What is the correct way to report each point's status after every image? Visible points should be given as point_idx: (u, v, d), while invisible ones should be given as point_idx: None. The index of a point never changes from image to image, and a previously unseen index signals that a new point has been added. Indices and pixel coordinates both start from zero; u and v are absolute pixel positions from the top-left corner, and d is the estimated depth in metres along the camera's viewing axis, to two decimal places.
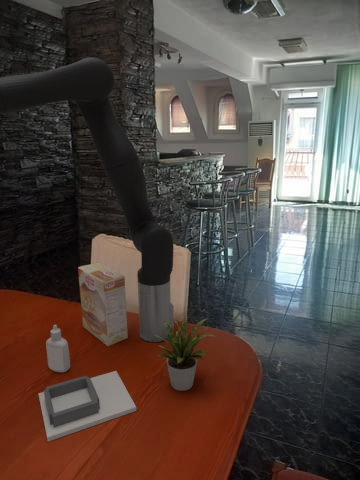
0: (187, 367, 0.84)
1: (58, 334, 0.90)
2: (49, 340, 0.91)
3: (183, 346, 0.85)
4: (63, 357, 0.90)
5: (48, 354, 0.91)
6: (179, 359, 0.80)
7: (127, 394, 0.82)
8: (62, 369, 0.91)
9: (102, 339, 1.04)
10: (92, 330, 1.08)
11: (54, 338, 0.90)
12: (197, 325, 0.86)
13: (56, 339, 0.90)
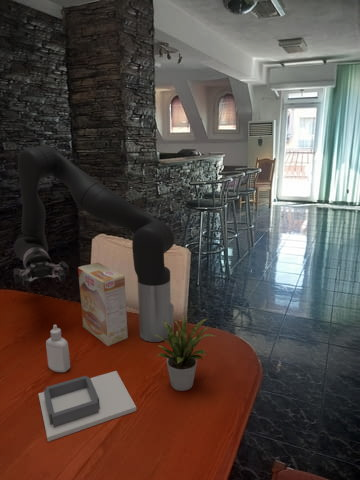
0: (187, 367, 0.84)
1: (58, 334, 0.90)
2: (49, 340, 0.91)
3: (183, 346, 0.85)
4: (63, 357, 0.90)
5: (48, 354, 0.91)
6: (179, 359, 0.80)
7: (127, 394, 0.82)
8: (62, 369, 0.91)
9: (102, 339, 1.04)
10: (92, 330, 1.08)
11: (54, 338, 0.90)
12: (197, 325, 0.86)
13: (56, 339, 0.90)
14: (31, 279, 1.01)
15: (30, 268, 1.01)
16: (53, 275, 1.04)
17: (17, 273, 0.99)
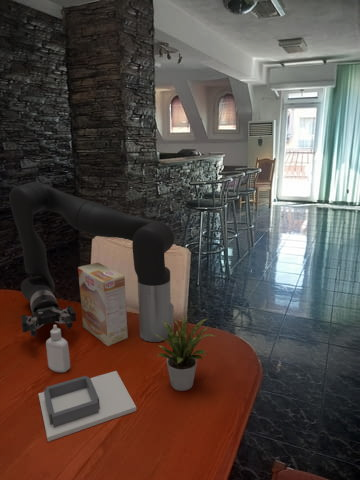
0: (187, 367, 0.84)
1: (58, 334, 0.90)
2: (49, 340, 0.91)
3: (183, 346, 0.85)
4: (63, 357, 0.90)
5: (48, 354, 0.91)
6: (179, 359, 0.80)
7: (127, 394, 0.82)
8: (62, 369, 0.91)
9: (102, 339, 1.04)
10: (92, 330, 1.08)
11: (54, 338, 0.90)
12: (197, 325, 0.86)
13: (56, 339, 0.90)
14: (38, 326, 1.02)
15: (37, 316, 1.02)
16: (60, 321, 1.04)
17: (25, 322, 0.99)
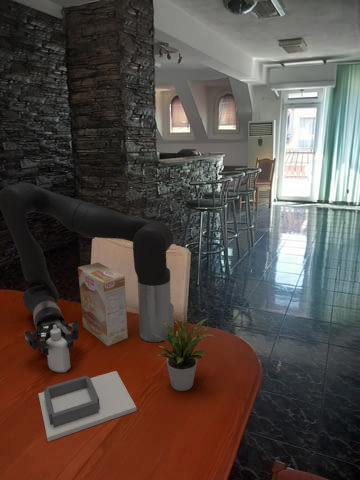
0: (187, 367, 0.84)
1: (58, 334, 0.90)
2: (49, 340, 0.91)
3: (183, 346, 0.85)
4: (63, 357, 0.90)
5: None
6: (179, 359, 0.80)
7: (127, 394, 0.82)
8: (62, 369, 0.91)
9: (102, 339, 1.04)
10: (92, 330, 1.08)
11: (54, 338, 0.89)
12: (197, 325, 0.86)
13: (56, 339, 0.90)
14: None
15: (45, 331, 0.94)
16: None
17: (34, 338, 0.91)
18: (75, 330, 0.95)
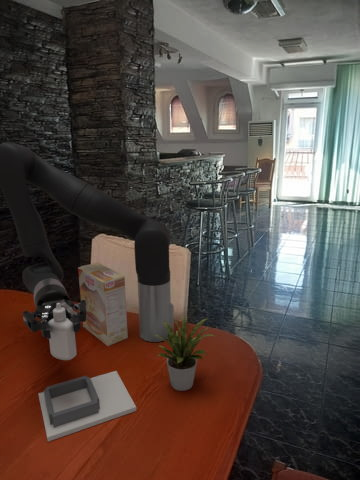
0: (187, 367, 0.84)
1: (62, 314, 0.74)
2: (51, 321, 0.76)
3: (182, 346, 0.85)
4: (68, 341, 0.75)
5: (50, 338, 0.76)
6: (179, 359, 0.80)
7: (127, 394, 0.82)
8: (67, 356, 0.76)
9: (102, 339, 1.04)
10: (92, 330, 1.08)
11: (57, 319, 0.74)
12: (197, 325, 0.86)
13: (60, 319, 0.75)
14: None
15: (47, 310, 0.79)
16: None
17: (34, 318, 0.76)
18: (82, 310, 0.80)
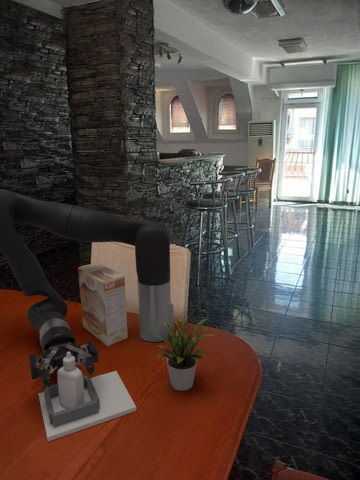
0: (187, 367, 0.84)
1: (71, 363, 0.76)
2: (61, 370, 0.77)
3: (183, 346, 0.85)
4: (77, 390, 0.76)
5: (59, 386, 0.78)
6: (179, 359, 0.80)
7: (127, 394, 0.82)
8: None
9: (102, 339, 1.04)
10: (92, 330, 1.08)
11: (67, 368, 0.76)
12: (197, 325, 0.86)
13: (69, 368, 0.76)
14: (52, 370, 0.79)
15: (50, 356, 0.79)
16: (79, 363, 0.82)
17: (34, 365, 0.77)
18: (96, 351, 0.82)
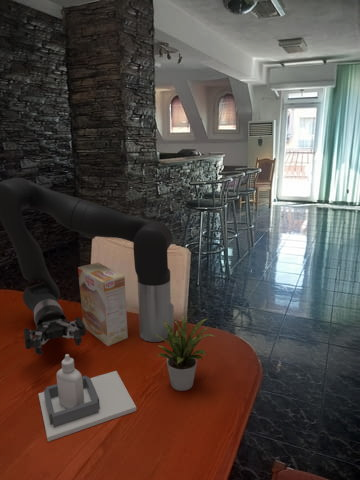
0: (187, 367, 0.84)
1: (70, 366, 0.76)
2: (60, 372, 0.77)
3: (183, 346, 0.85)
4: (76, 392, 0.76)
5: (59, 388, 0.78)
6: (179, 359, 0.80)
7: (127, 394, 0.82)
8: None
9: (102, 339, 1.04)
10: (92, 330, 1.08)
11: (66, 370, 0.76)
12: (197, 325, 0.86)
13: (68, 371, 0.76)
14: (44, 342, 0.90)
15: (42, 330, 0.90)
16: (68, 336, 0.93)
17: (28, 337, 0.88)
18: (83, 326, 0.93)
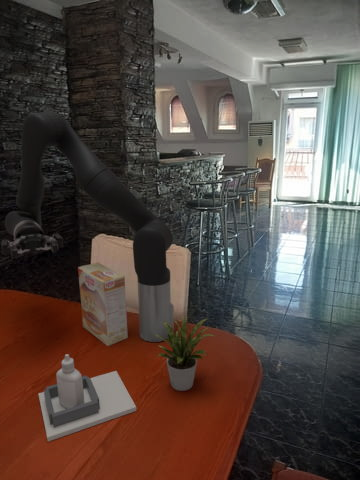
0: (187, 367, 0.84)
1: (70, 366, 0.76)
2: (60, 372, 0.77)
3: (183, 346, 0.85)
4: (76, 392, 0.76)
5: (59, 388, 0.78)
6: (179, 359, 0.80)
7: (127, 394, 0.82)
8: None
9: (102, 339, 1.04)
10: (92, 330, 1.08)
11: (66, 370, 0.76)
12: (197, 325, 0.86)
13: (68, 371, 0.76)
14: (21, 251, 0.92)
15: (20, 239, 0.92)
16: (45, 247, 0.94)
17: (5, 244, 0.89)
18: (60, 238, 0.94)
